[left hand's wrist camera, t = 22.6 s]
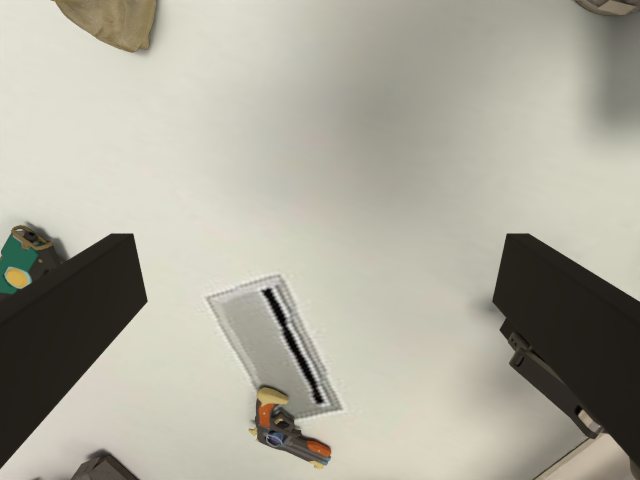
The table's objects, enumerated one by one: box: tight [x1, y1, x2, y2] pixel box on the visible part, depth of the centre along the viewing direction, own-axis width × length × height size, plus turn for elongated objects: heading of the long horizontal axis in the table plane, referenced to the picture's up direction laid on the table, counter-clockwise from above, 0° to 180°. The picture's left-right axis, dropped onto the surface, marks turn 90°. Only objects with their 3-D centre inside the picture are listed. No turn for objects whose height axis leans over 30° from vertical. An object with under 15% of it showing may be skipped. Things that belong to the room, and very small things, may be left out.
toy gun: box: [249, 388, 331, 469], centre depth 58 cm, size 3×19×10 cm
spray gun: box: [0, 225, 61, 302], centre depth 48 cm, size 4×17×15 cm
